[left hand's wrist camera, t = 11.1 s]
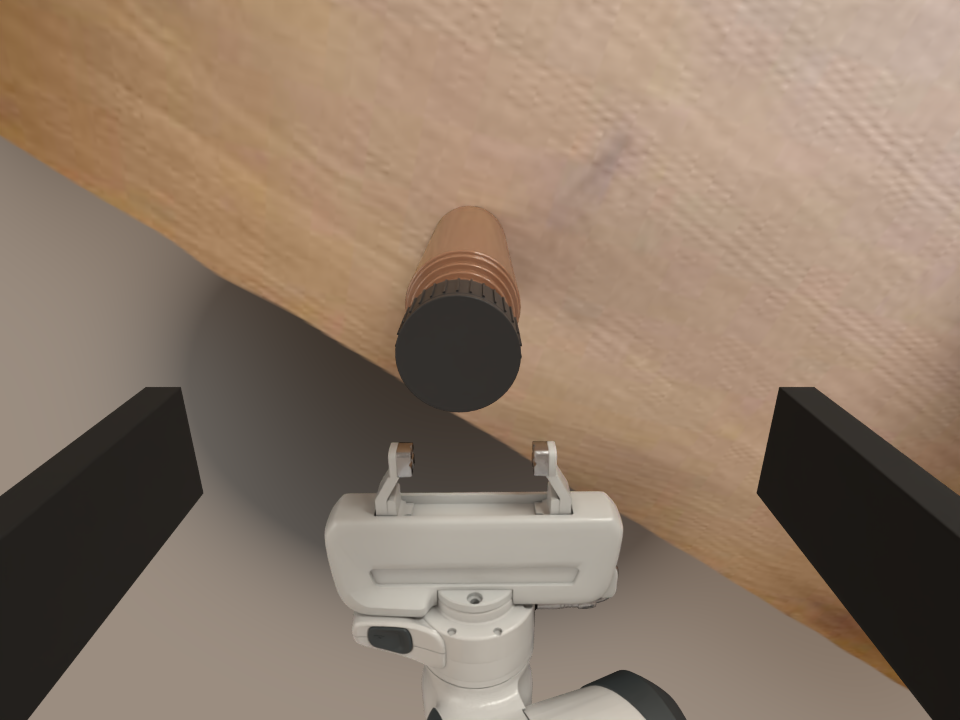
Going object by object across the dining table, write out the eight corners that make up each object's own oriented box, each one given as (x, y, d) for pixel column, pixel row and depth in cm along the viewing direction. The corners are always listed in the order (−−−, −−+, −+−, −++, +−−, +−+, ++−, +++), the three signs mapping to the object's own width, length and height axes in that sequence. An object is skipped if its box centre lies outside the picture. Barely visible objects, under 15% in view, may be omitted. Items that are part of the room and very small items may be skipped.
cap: (538, 353, 21) (545, 377, 19) (441, 405, 22) (437, 434, 20) (481, 254, 20) (481, 269, 18) (379, 314, 21) (368, 334, 19)
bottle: (518, 256, 39) (556, 376, 20) (456, 291, 40) (435, 439, 20) (482, 191, 37) (484, 252, 18) (419, 230, 38) (357, 327, 19)
